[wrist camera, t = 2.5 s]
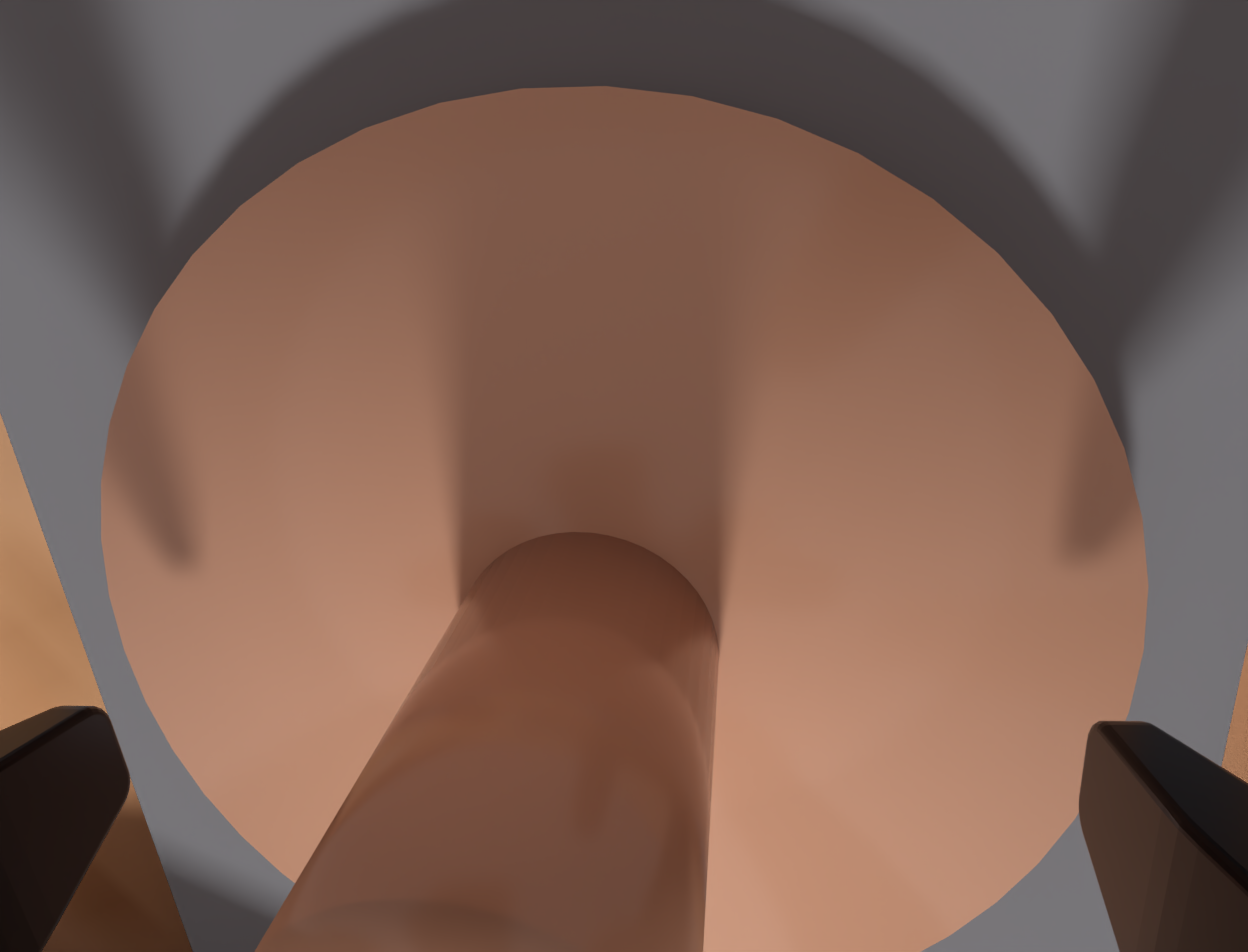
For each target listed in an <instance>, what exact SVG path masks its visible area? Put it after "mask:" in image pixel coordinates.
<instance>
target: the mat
mask: <svg viewBox="0 0 1248 952" xmlns="http://www.w3.org/2000/svg"><path fill="white" fill-rule="evenodd" d="M589 86H610V87H619V88H627V89H636V90H644V91H653V92H661V93H670V94H678V95H687V96H694V97H698V98H701V99H705V100H709V101H713V102H716V103H720V104H724V105H728V106H731V107H735V108H739V109H743V110H746V111H750V112H754V113H758V114H761V115H765V116H769V117H773V118H776V119H779V120H782V121H784V122H786V123H789V124H791V125H793V126H796V127H798V128H800V129H803V130H805V131H807V132H810V133H812V134H814V135H817V136H819V137H821V138H824V139H826V140H828V141H831V142H833V143H835V144H838V145H840V146H842V147H845V148H847V149H849V150H852V151H854V152H857V153H859V154H860V155H862V156H864V157H865V158H867V159H869V160H870V161H872V162H873V163H875V164H877V165H878V166H880V167H882V168H883V169H885V170H887V171H888V172H890V173H891V174H893V175H895V176H896V177H898V178H900V179H901V180H903V181H905V182H906V183H908V184H910V185H911V186H913V187H914V188H916V189H918V190H919V191H921V192H923V193H924V194H926V195H928V196H929V197H931V198H932V199H934V200H935V201H936V202H937V203H938V204H940V205H941V206H942V207H943V208H944V209H946V210H947V211H948V212H949V213H950V214H952V215H953V216H954V217H955V218H956V219H958V220H959V221H960V222H961V223H962V224H964V225H965V226H966V227H967V228H968V229H970V230H971V231H972V232H973V233H974V234H976V235H977V236H978V237H979V238H980V239H982V240H983V241H984V242H985V243H986V244H988V245H989V246H990V247H991V248H992V249H994V250H995V251H996V252H997V253H998V254H999V255H1000V256H1001V257H1002V258H1003V259H1004V261H1005V262H1006V263H1007V264H1008V265H1009V266H1010V267H1011V268H1012V270H1013V271H1014V272H1015V273H1016V274H1017V275H1018V276H1019V277H1020V279H1021V280H1022V281H1023V282H1024V283H1025V284H1026V285H1027V286H1028V288H1029V289H1030V290H1031V291H1032V292H1033V293H1034V294H1035V295H1036V297H1037V298H1038V299H1039V300H1040V301H1041V302H1042V303H1043V304H1044V306H1045V307H1046V308H1047V309H1048V310H1049V311H1050V312H1051V314H1052V315H1053V316H1054V318H1055V320H1056V321H1057V323H1058V324H1059V326H1060V327H1061V329H1062V330H1063V332H1064V334H1065V335H1066V337H1067V338H1068V340H1069V341H1070V343H1071V344H1072V346H1073V348H1074V349H1075V351H1076V352H1077V354H1078V355H1079V357H1080V358H1081V360H1082V361H1083V363H1084V365H1085V366H1086V368H1087V369H1088V371H1089V372H1090V374H1091V375H1092V377H1093V379H1094V380H1095V383H1096V385H1097V387H1098V389H1099V392H1100V394H1101V396H1102V398H1103V401H1104V403H1105V405H1106V408H1107V410H1108V412H1109V414H1110V417H1111V419H1112V421H1113V423H1114V426H1115V428H1116V430H1117V433H1118V435H1119V437H1120V439H1121V442H1122V444H1123V446H1124V449H1125V452H1126V456H1127V460H1128V464H1129V468H1130V472H1131V476H1132V479H1133V483H1134V487H1135V491H1136V495H1137V499H1138V503H1139V507H1140V510H1141V514H1142V519H1143V530H1144V541H1145V552H1146V564H1147V575H1148V599H1147V612H1146V626H1145V639H1144V651H1143V655H1142V660H1141V664H1140V668H1139V672H1138V676H1137V680H1136V685H1135V689H1134V693H1133V697H1132V701H1131V705H1130V710H1129V713H1128V715H1127V718H1126V720H1125V721H1144V722H1148V723H1151V724H1153V725H1155V726H1156V727H1158V728H1160V729H1161V730H1163V731H1165V732H1166V733H1168V734H1169V735H1171V736H1173V737H1174V738H1176V739H1177V740H1179V741H1181V742H1182V743H1184V744H1186V745H1187V746H1189V747H1190V748H1192V749H1194V750H1195V751H1197V752H1198V753H1200V754H1202V755H1203V756H1205V757H1206V758H1208V759H1210V760H1211V761H1213V762H1214V763H1216V764H1218V765H1219V766H1221V765H1222V761H1223V756H1224V751H1225V747H1226V742H1227V737H1228V733H1229V728H1230V723H1231V718H1232V714H1233V709H1234V704H1235V700H1236V695H1237V690H1238V686H1239V681H1240V676H1241V671H1242V667H1243V662H1244V657H1245V653H1246V648H1247V643H1248V0H0V413H1V416H2V419H3V422H4V424H5V427H6V430H7V433H8V436H9V438H10V441H11V444H12V447H13V450H14V452H15V455H16V458H17V461H18V464H19V466H20V469H21V472H22V475H23V478H24V480H25V483H26V486H27V489H28V492H29V494H30V497H31V500H32V503H33V506H34V508H35V511H36V514H37V517H38V520H39V522H40V525H41V528H42V531H43V534H44V536H45V539H46V542H47V545H48V548H49V550H50V553H51V556H52V559H53V562H54V564H55V567H56V570H57V573H58V576H59V578H60V581H61V584H62V587H63V590H64V592H65V595H66V598H67V601H68V604H69V606H70V609H71V612H72V615H73V618H74V620H75V623H76V626H77V629H78V632H79V634H80V637H81V640H82V643H83V646H84V648H85V651H86V654H87V657H88V660H89V662H90V665H91V668H92V671H93V674H94V676H95V679H96V682H97V685H98V688H99V690H100V693H101V696H102V699H103V702H104V704H105V707H106V710H107V713H108V716H109V718H110V720H111V722H112V725H113V728H114V730H115V733H116V736H117V739H118V742H119V744H120V747H121V750H122V753H123V756H124V758H125V761H126V764H127V767H128V770H129V773H130V777H131V780H132V783H133V786H134V788H135V791H136V794H137V797H138V800H139V802H140V805H141V808H142V811H143V814H144V816H145V819H146V822H147V825H148V828H149V830H150V833H151V836H152V839H153V842H154V844H155V847H156V850H157V853H158V856H159V858H160V861H161V864H162V867H163V870H164V872H165V875H166V878H167V881H168V884H169V886H170V889H171V892H172V895H173V898H174V900H175V903H176V906H177V909H178V912H179V914H180V917H181V920H182V923H183V926H184V928H185V931H186V934H187V937H188V939H189V942H190V945H191V948H192V951H193V952H254V951H255V950H256V948H257V946H258V945H259V943H260V941H261V940H262V938H263V936H264V935H265V933H266V931H267V930H268V928H269V926H270V925H271V923H272V921H273V920H274V918H275V916H276V915H277V913H278V911H279V910H280V908H281V906H282V905H283V903H284V901H285V899H286V898H287V896H288V894H289V893H290V891H291V889H292V888H293V886H294V884H295V883H294V882H293V881H291V880H290V879H289V878H287V877H286V876H285V875H284V874H282V873H281V872H280V871H279V870H278V869H277V868H276V867H274V866H273V865H272V864H271V863H270V862H269V861H268V860H267V859H266V858H265V857H264V856H263V855H261V854H260V853H259V852H258V851H257V850H256V849H255V848H254V847H253V846H252V845H251V844H250V843H249V842H247V841H246V840H245V839H244V838H243V837H242V836H241V835H240V834H239V833H238V832H237V831H236V829H235V828H234V827H233V826H232V825H231V824H230V823H229V821H228V820H227V819H226V818H225V817H224V816H223V815H222V814H221V812H220V811H219V810H218V809H217V808H216V807H215V806H214V805H213V803H212V802H211V801H210V800H209V799H208V798H207V797H206V795H205V794H204V793H203V792H202V790H201V789H200V787H199V786H198V785H197V783H196V782H195V780H194V779H193V778H192V776H191V775H190V773H189V772H188V771H187V769H186V768H185V766H184V765H183V764H182V762H181V761H180V759H179V758H178V757H177V755H176V754H175V752H174V751H173V750H172V748H171V746H170V744H169V742H168V741H167V739H166V737H165V735H164V733H163V732H162V730H161V728H160V726H159V725H158V723H157V721H156V719H155V717H154V716H153V714H152V712H151V710H150V708H149V707H148V705H147V703H146V701H145V699H144V697H143V694H142V692H141V689H140V687H139V684H138V682H137V680H136V677H135V675H134V672H133V670H132V668H131V665H130V663H129V660H128V658H127V656H126V653H125V651H124V648H123V644H122V640H121V637H120V633H119V630H118V626H117V622H116V619H115V615H114V612H113V608H112V604H111V601H110V597H109V591H108V584H107V577H106V570H105V563H104V556H103V549H102V542H101V479H102V472H103V465H104V458H105V451H106V444H107V437H108V430H109V423H110V420H111V417H112V414H113V410H114V407H115V404H116V400H117V397H118V394H119V391H120V387H121V384H122V381H123V377H124V374H125V371H126V367H127V365H128V363H129V361H130V358H131V356H132V354H133V352H134V350H135V348H136V346H137V344H138V342H139V340H140V338H141V336H142V334H143V332H144V330H145V328H146V325H147V323H148V321H149V319H150V317H151V315H152V313H153V311H154V309H155V308H156V306H157V305H158V303H159V302H160V300H161V299H162V298H163V296H164V295H165V293H166V292H167V290H168V289H169V288H170V286H171V285H172V283H173V282H174V280H175V279H176V278H177V276H178V275H179V273H180V272H181V270H182V269H183V268H184V266H185V265H186V263H187V262H188V260H189V259H190V258H191V256H192V255H193V254H194V253H195V252H196V251H197V250H198V249H199V248H200V247H201V246H202V245H203V244H204V243H205V242H206V240H207V239H208V238H209V237H210V236H211V235H212V234H213V233H214V232H215V231H216V230H217V229H218V228H219V227H220V226H221V225H222V224H223V223H224V222H225V221H226V220H227V219H228V218H229V217H230V216H231V215H232V214H233V213H234V212H235V211H236V210H237V209H238V208H239V207H240V206H241V205H242V204H243V203H245V202H246V201H248V200H249V199H250V198H252V197H253V196H254V195H256V194H257V193H258V192H260V191H261V190H262V189H264V188H265V187H266V186H268V185H269V184H270V183H272V182H273V181H274V180H276V179H277V178H279V177H280V176H281V175H283V174H284V173H285V172H287V171H288V170H289V169H291V168H292V167H293V166H295V165H296V164H297V163H299V162H301V161H303V160H305V159H307V158H309V157H311V156H313V155H314V154H316V153H318V152H320V151H322V150H324V149H326V148H328V147H330V146H332V145H334V144H336V143H337V142H339V141H341V140H343V139H345V138H347V137H349V136H351V135H353V134H355V133H357V132H359V131H360V130H362V129H364V128H367V127H370V126H373V125H376V124H379V123H382V122H385V121H388V120H391V119H394V118H396V117H399V116H402V115H405V114H408V113H411V112H414V111H417V110H420V109H423V108H426V107H429V106H432V105H435V104H438V103H442V102H447V101H453V100H459V99H464V98H470V97H475V96H481V95H487V94H492V93H498V92H504V91H509V90H515V89H520V88H554V87H589ZM921 952H1119V949H1118V945H1117V942H1116V939H1115V936H1114V932H1113V929H1112V926H1111V923H1110V920H1109V916H1108V913H1107V910H1106V907H1105V903H1104V900H1103V897H1102V894H1101V890H1100V887H1099V884H1098V881H1097V878H1096V874H1095V871H1094V868H1093V865H1092V861H1091V858H1090V855H1089V852H1088V848H1087V845H1086V842H1085V839H1084V836H1083V832H1082V828H1081V824H1080V818H1079V813H1078V815H1077V816H1076V818H1075V820H1074V821H1073V822H1072V823H1071V824H1070V826H1069V827H1068V828H1067V829H1066V830H1065V832H1064V833H1063V834H1062V835H1061V837H1060V838H1059V839H1058V840H1057V841H1056V843H1055V844H1054V845H1053V846H1052V847H1051V849H1050V850H1049V851H1048V852H1047V854H1046V855H1045V856H1044V857H1043V858H1042V860H1041V861H1040V862H1039V863H1038V864H1037V865H1036V866H1035V867H1034V868H1033V869H1032V870H1031V871H1030V872H1029V873H1028V874H1027V875H1025V876H1024V877H1023V878H1022V879H1021V880H1020V881H1019V882H1018V883H1017V884H1016V885H1015V886H1014V887H1013V888H1011V889H1010V890H1009V891H1008V892H1007V893H1006V894H1005V895H1004V896H1003V897H1002V898H1001V899H1000V900H998V901H997V902H996V903H995V904H994V905H992V906H991V907H989V908H988V909H987V910H985V911H984V912H982V913H981V914H980V915H978V916H977V917H975V918H974V919H973V920H971V921H970V922H968V923H967V924H966V925H964V926H963V927H961V928H960V929H958V930H957V931H956V932H954V933H953V934H951V935H950V936H948V937H947V938H945V939H943V940H941V941H939V942H937V943H936V944H934V945H932V946H930V947H928V948H926V949H924V950H923V951H921Z"/></svg>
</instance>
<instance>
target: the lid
mask: <svg viewBox="0 0 1248 952" xmlns="http://www.w3.org/2000/svg"><path fill="white" fill-rule="evenodd" d="M101 542H102V549H103V556H104V563H105V570H106V577H107V584H108V591H109V597H110V601H111V604H112V608H113V612H114V615H115V619H116V622H117V626H118V630H119V633H120V637H121V640H122V644H123V648H124V651H125V653H126V656H127V658H128V660H129V663H130V665H131V668H132V670H133V672H134V675H135V677H136V680H137V682H138V684H139V687H140V689H141V692H142V694H143V697H144V699H145V701H146V703H147V705H148V707H149V708H150V710H151V712H152V714H153V716H154V717H155V719H156V721H157V723H158V725H159V726H160V728H161V730H162V732H163V733H164V735H165V737H166V739H167V741H168V742H169V744H170V746H171V748H172V750H173V751H174V752H175V754H176V755H177V757H178V758H179V759H180V761H181V762H182V764H183V765H184V766H185V768H186V769H187V771H188V772H189V773H190V775H191V776H192V778H193V779H194V780H195V782H196V783H197V785H198V786H199V787H200V789H201V790H202V792H203V793H204V794H205V795H206V797H207V798H208V799H209V800H210V801H211V802H212V803H213V805H214V806H215V807H216V808H217V809H218V810H219V811H220V812H221V814H222V815H223V816H224V817H225V818H226V819H227V820H228V821H229V823H230V824H231V825H232V826H233V827H234V828H235V829H236V831H237V832H238V833H239V834H240V835H241V836H242V837H243V838H244V839H245V840H246V841H247V842H249V843H250V844H251V845H252V846H253V847H254V848H255V849H256V850H257V851H258V852H259V853H260V854H261V855H263V856H264V857H265V858H266V859H267V860H268V861H269V862H270V863H271V864H272V865H273V866H274V867H276V868H277V869H278V870H279V871H280V872H281V873H282V874H284V875H285V876H286V877H287V878H289V879H290V880H291V881H293V882H294V883H295V884H294V886H293V888H292V889H291V891H290V893H289V894H288V896H287V898H286V899H285V901H284V903H283V905H282V906H281V908H280V910H279V911H278V913H277V915H276V916H275V918H274V920H273V921H272V923H271V925H270V926H269V928H268V930H267V931H266V933H265V935H264V936H263V938H262V940H261V941H260V943H259V945H258V946H257V948H256V950H255V951H254V952H921V951H923V950H924V949H926V948H928V947H930V946H932V945H934V944H936V943H937V942H939V941H941V940H943V939H945V938H947V937H948V936H950V935H951V934H953V933H954V932H956V931H957V930H958V929H960V928H961V927H963V926H964V925H966V924H967V923H968V922H970V921H971V920H973V919H974V918H975V917H977V916H978V915H980V914H981V913H982V912H984V911H985V910H987V909H988V908H989V907H991V906H992V905H994V904H995V903H996V902H997V901H998V900H1000V899H1001V898H1002V897H1003V896H1004V895H1005V894H1006V893H1007V892H1008V891H1009V890H1010V889H1011V888H1013V887H1014V886H1015V885H1016V884H1017V883H1018V882H1019V881H1020V880H1021V879H1022V878H1023V877H1024V876H1025V875H1027V874H1028V873H1029V872H1030V871H1031V870H1032V869H1033V868H1034V867H1035V866H1036V865H1037V864H1038V863H1039V862H1040V861H1041V860H1042V858H1043V857H1044V856H1045V855H1046V854H1047V852H1048V851H1049V850H1050V849H1051V847H1052V846H1053V845H1054V844H1055V843H1056V841H1057V840H1058V839H1059V838H1060V837H1061V835H1062V834H1063V833H1064V832H1065V830H1066V829H1067V828H1068V827H1069V826H1070V824H1071V823H1072V822H1073V821H1074V820H1075V818H1076V816H1077V815H1078V813H1079V793H1080V786H1081V779H1082V772H1083V765H1084V757H1085V750H1086V743H1087V737H1088V733H1089V731H1090V729H1091V727H1092V725H1094V724H1095V723H1097V722H1098V721H1125V720H1126V718H1127V715H1128V713H1129V710H1130V705H1131V701H1132V697H1133V693H1134V689H1135V685H1136V680H1137V676H1138V672H1139V668H1140V664H1141V660H1142V655H1143V651H1144V639H1145V626H1146V612H1147V599H1148V575H1147V564H1146V552H1145V541H1144V530H1143V519H1142V514H1141V510H1140V507H1139V503H1138V499H1137V495H1136V491H1135V487H1134V483H1133V479H1132V476H1131V472H1130V468H1129V464H1128V460H1127V456H1126V452H1125V449H1124V446H1123V444H1122V442H1121V439H1120V437H1119V435H1118V433H1117V430H1116V428H1115V426H1114V423H1113V421H1112V419H1111V417H1110V414H1109V412H1108V410H1107V408H1106V405H1105V403H1104V401H1103V398H1102V396H1101V394H1100V392H1099V389H1098V387H1097V385H1096V383H1095V380H1094V379H1093V377H1092V375H1091V374H1090V372H1089V371H1088V369H1087V368H1086V366H1085V365H1084V363H1083V361H1082V360H1081V358H1080V357H1079V355H1078V354H1077V352H1076V351H1075V349H1074V348H1073V346H1072V344H1071V343H1070V341H1069V340H1068V338H1067V337H1066V335H1065V334H1064V332H1063V330H1062V329H1061V327H1060V326H1059V324H1058V323H1057V321H1056V320H1055V318H1054V316H1053V315H1052V314H1051V312H1050V311H1049V310H1048V309H1047V308H1046V307H1045V306H1044V304H1043V303H1042V302H1041V301H1040V300H1039V299H1038V298H1037V297H1036V295H1035V294H1034V293H1033V292H1032V291H1031V290H1030V289H1029V288H1028V286H1027V285H1026V284H1025V283H1024V282H1023V281H1022V280H1021V279H1020V277H1019V276H1018V275H1017V274H1016V273H1015V272H1014V271H1013V270H1012V268H1011V267H1010V266H1009V265H1008V264H1007V263H1006V262H1005V261H1004V259H1003V258H1002V257H1001V256H1000V255H999V254H998V253H997V252H996V251H995V250H994V249H992V248H991V247H990V246H989V245H988V244H986V243H985V242H984V241H983V240H982V239H980V238H979V237H978V236H977V235H976V234H974V233H973V232H972V231H971V230H970V229H968V228H967V227H966V226H965V225H964V224H962V223H961V222H960V221H959V220H958V219H956V218H955V217H954V216H953V215H952V214H950V213H949V212H948V211H947V210H946V209H944V208H943V207H942V206H941V205H940V204H938V203H937V202H936V201H935V200H934V199H932V198H931V197H929V196H928V195H926V194H924V193H923V192H921V191H919V190H918V189H916V188H914V187H913V186H911V185H910V184H908V183H906V182H905V181H903V180H901V179H900V178H898V177H896V176H895V175H893V174H891V173H890V172H888V171H887V170H885V169H883V168H882V167H880V166H878V165H877V164H875V163H873V162H872V161H870V160H869V159H867V158H865V157H864V156H862V155H860V154H859V153H857V152H854V151H852V150H849V149H847V148H845V147H842V146H840V145H838V144H835V143H833V142H831V141H828V140H826V139H824V138H821V137H819V136H817V135H814V134H812V133H810V132H807V131H805V130H803V129H800V128H798V127H796V126H793V125H791V124H789V123H786V122H784V121H782V120H779V119H776V118H773V117H769V116H765V115H761V114H758V113H754V112H750V111H746V110H743V109H739V108H735V107H731V106H728V105H724V104H720V103H716V102H713V101H709V100H705V99H701V98H698V97H694V96H687V95H678V94H670V93H661V92H653V91H644V90H636V89H627V88H619V87H610V86H589V87H554V88H520V89H515V90H509V91H504V92H498V93H492V94H487V95H481V96H475V97H470V98H464V99H459V100H453V101H447V102H442V103H438V104H435V105H432V106H429V107H426V108H423V109H420V110H417V111H414V112H411V113H408V114H405V115H402V116H399V117H396V118H394V119H391V120H388V121H385V122H382V123H379V124H376V125H373V126H370V127H367V128H364V129H362V130H360V131H359V132H357V133H355V134H353V135H351V136H349V137H347V138H345V139H343V140H341V141H339V142H337V143H336V144H334V145H332V146H330V147H328V148H326V149H324V150H322V151H320V152H318V153H316V154H314V155H313V156H311V157H309V158H307V159H305V160H303V161H301V162H299V163H297V164H296V165H295V166H293V167H292V168H291V169H289V170H288V171H287V172H285V173H284V174H283V175H281V176H280V177H279V178H277V179H276V180H274V181H273V182H272V183H270V184H269V185H268V186H266V187H265V188H264V189H262V190H261V191H260V192H258V193H257V194H256V195H254V196H253V197H252V198H250V199H249V200H248V201H246V202H245V203H243V204H242V205H241V206H240V207H239V208H238V209H237V210H236V211H235V212H234V213H233V214H232V215H231V216H230V217H229V218H228V219H227V220H226V221H225V222H224V223H223V224H222V225H221V226H220V227H219V228H218V229H217V230H216V231H215V232H214V233H213V234H212V235H211V236H210V237H209V238H208V239H207V240H206V242H205V243H204V244H203V245H202V246H201V247H200V248H199V249H198V250H197V251H196V252H195V253H194V254H193V255H192V256H191V258H190V259H189V260H188V262H187V263H186V265H185V266H184V268H183V269H182V270H181V272H180V273H179V275H178V276H177V278H176V279H175V280H174V282H173V283H172V285H171V286H170V288H169V289H168V290H167V292H166V293H165V295H164V296H163V298H162V299H161V300H160V302H159V303H158V305H157V306H156V308H155V309H154V311H153V313H152V315H151V317H150V319H149V321H148V323H147V325H146V328H145V330H144V332H143V334H142V336H141V338H140V340H139V342H138V344H137V346H136V348H135V350H134V352H133V354H132V356H131V358H130V361H129V363H128V365H127V367H126V371H125V374H124V377H123V381H122V384H121V387H120V391H119V394H118V397H117V400H116V404H115V407H114V410H113V414H112V417H111V420H110V423H109V430H108V437H107V444H106V451H105V458H104V465H103V472H102V479H101Z"/></svg>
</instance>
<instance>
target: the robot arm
mask: <svg viewBox="0 0 1248 952" xmlns="http://www.w3.org/2000/svg"><path fill="white" fill-rule="evenodd" d="M129 787H130V773H129V770H128V767H127V764H126V761H125V758H124V756H123V753H122V750H121V747H120V744H119V742H118V739H117V736H116V733H115V730H114V728H113V725H112V722H111V720H110V718H109V716H108V715H107V714H106V713H105V712H104V711H103V710H102V709H101V708H98V707H95V706H59V707H55V708H52V709H49V710H47V711H45V712H42V713H40V714H38V715H35V716H33V717H31V718H28V719H26V720H24V721H21V722H19V723H17V724H15V725H12V726H10V727H8V728H5V729H3V730H1V731H0V952H42V950H43V948H44V946H45V945H46V943H47V941H48V939H49V938H50V936H51V934H52V933H53V931H54V929H55V927H56V926H57V924H58V922H59V920H60V918H61V917H62V915H63V913H64V911H65V909H66V908H67V906H68V904H69V902H70V900H71V899H72V897H73V895H74V893H75V891H76V890H77V888H78V886H79V884H80V882H81V881H82V879H83V877H84V875H85V873H86V871H87V870H88V868H89V866H90V864H91V862H92V861H93V859H94V857H95V855H96V853H97V852H98V850H99V848H100V846H101V844H102V843H103V841H104V839H105V837H106V835H107V833H108V832H109V830H110V828H111V826H112V824H113V823H114V821H115V819H116V817H117V815H118V814H119V812H120V810H121V808H122V806H123V805H124V803H125V800H126V798H127V795H128V792H129ZM1079 818H1080V824H1081V828H1082V832H1083V836H1084V839H1085V842H1086V845H1087V848H1088V852H1089V855H1090V858H1091V861H1092V865H1093V868H1094V871H1095V874H1096V878H1097V881H1098V884H1099V887H1100V890H1101V894H1102V897H1103V900H1104V903H1105V907H1106V910H1107V913H1108V916H1109V920H1110V923H1111V926H1112V929H1113V932H1114V936H1115V939H1116V942H1117V945H1118V949H1119V952H1248V783H1246V782H1245V781H1243V780H1242V779H1240V778H1238V777H1237V776H1235V775H1234V774H1232V773H1230V772H1229V771H1227V770H1226V769H1224V768H1222V767H1221V766H1219V765H1218V764H1216V763H1214V762H1213V761H1211V760H1210V759H1208V758H1206V757H1205V756H1203V755H1202V754H1200V753H1198V752H1197V751H1195V750H1194V749H1192V748H1190V747H1189V746H1187V745H1186V744H1184V743H1182V742H1181V741H1179V740H1177V739H1176V738H1174V737H1173V736H1171V735H1169V734H1168V733H1166V732H1165V731H1163V730H1161V729H1160V728H1158V727H1156V726H1155V725H1153V724H1151V723H1148V722H1144V721H1098V722H1097V723H1095V724H1094V725H1092V727H1091V729H1090V731H1089V733H1088V737H1087V743H1086V750H1085V757H1084V765H1083V772H1082V779H1081V786H1080V793H1079Z"/></svg>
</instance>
